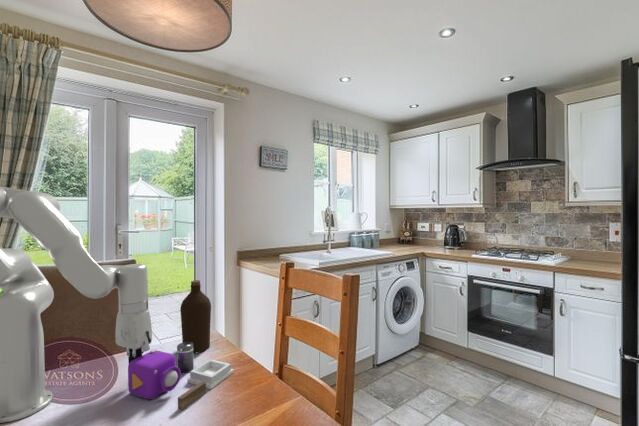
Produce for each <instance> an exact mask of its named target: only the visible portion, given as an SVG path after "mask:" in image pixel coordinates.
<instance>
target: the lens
mask: <svg viewBox="0 0 639 426" xmlns="http://www.w3.org/2000/svg"><path fill="white" fill-rule="evenodd" d="M176 359H177V360H176V363H177V365H176V366H177V367H179V369H180V371H181V374H188V373H190V371H192V370H193V369H195V368H194V367H195V366H194V353H193V343H192V342H181V343H179V344H177V346H176Z"/></svg>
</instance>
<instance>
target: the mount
mask: <svg viewBox="0 0 639 426" xmlns="http://www.w3.org/2000/svg"><path fill="white" fill-rule="evenodd" d="M232 374H234V369H233V368H232V364H231V363H228V362H224V361H221V360H215V359H212V358H209V359H207V361H205V362H202V364H200V365H198V366H197V367H195V368H193V370H192V371H190V372H189V376H190V377H189V378H187V384H192V385H194V386H195V385H197V384H198V383H200V382H201V381H203V382H206V389H208V390H212V389H214V388H215V387H216V386H217V385H219V384H220V383H221V382H223V381H224V380H225V379H226V378H229V377H230V376H231V375H232Z"/></svg>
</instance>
